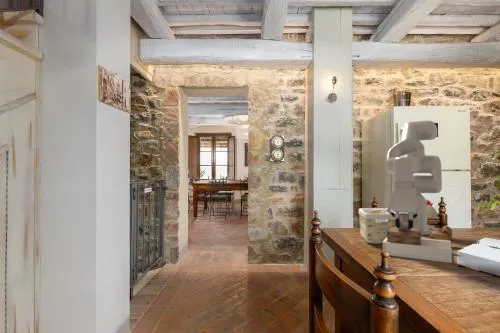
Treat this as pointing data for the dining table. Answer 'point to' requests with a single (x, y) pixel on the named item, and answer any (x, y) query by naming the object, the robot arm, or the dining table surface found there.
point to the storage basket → (375, 224)
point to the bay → (421, 250)
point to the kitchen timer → (431, 210)
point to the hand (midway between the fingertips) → (404, 228)
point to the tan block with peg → (404, 232)
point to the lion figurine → (442, 234)
